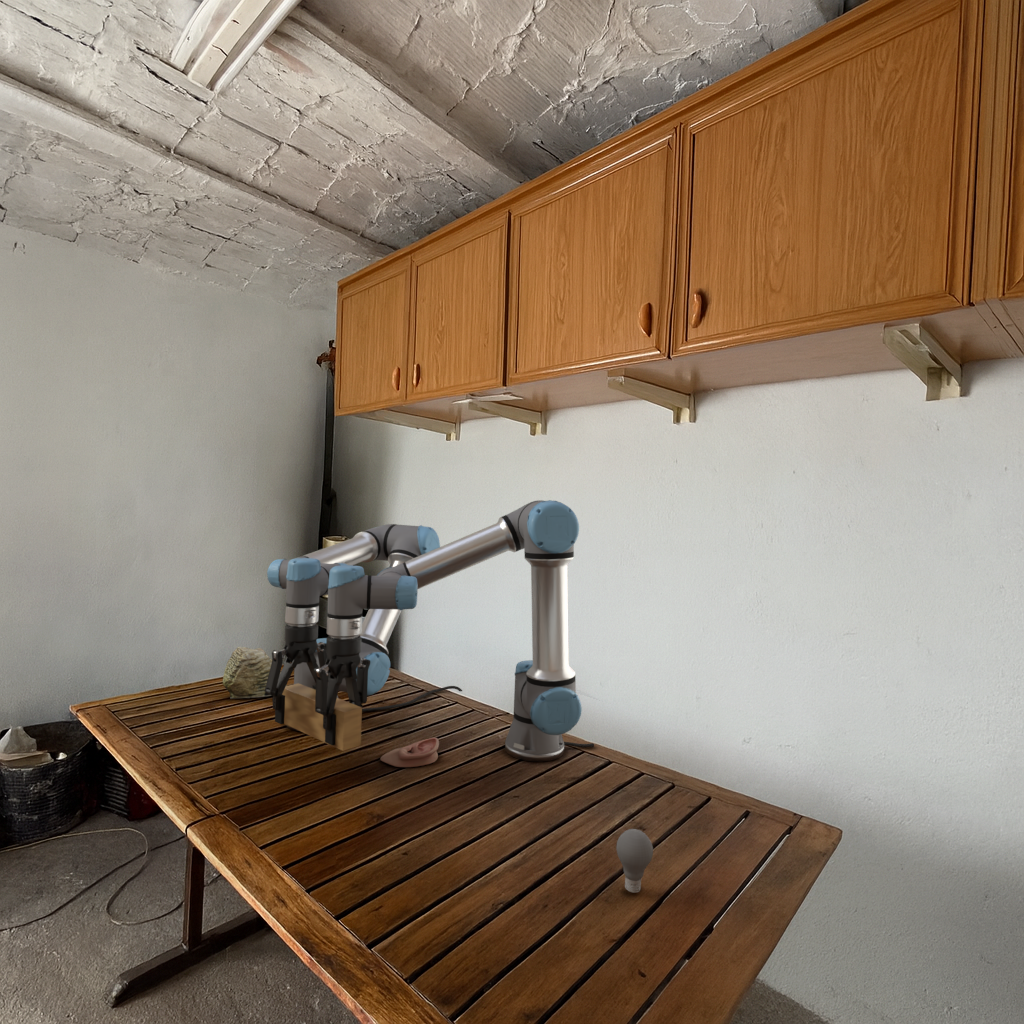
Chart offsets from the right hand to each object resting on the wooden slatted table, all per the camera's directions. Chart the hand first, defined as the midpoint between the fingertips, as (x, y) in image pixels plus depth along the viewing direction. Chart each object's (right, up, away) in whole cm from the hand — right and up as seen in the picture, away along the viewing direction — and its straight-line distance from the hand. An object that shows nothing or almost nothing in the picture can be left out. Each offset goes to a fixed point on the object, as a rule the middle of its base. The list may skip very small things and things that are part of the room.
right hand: (340, 739), depth 141 cm
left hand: (-13, +2, +10) cm, 17 cm away
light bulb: (+58, -13, -35) cm, 69 cm away
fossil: (-42, -7, +57) cm, 72 cm away
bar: (-6, 0, +5) cm, 8 cm away
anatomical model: (+13, -10, +14) cm, 22 cm away
